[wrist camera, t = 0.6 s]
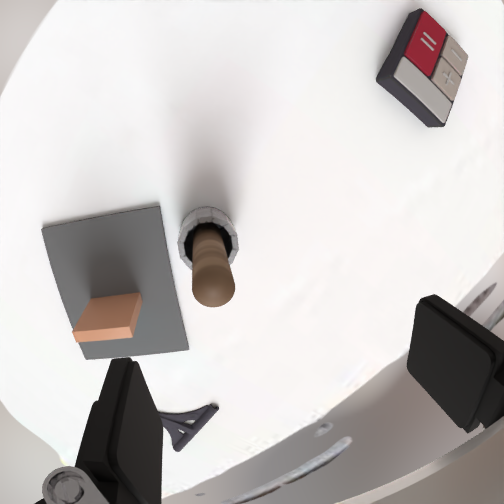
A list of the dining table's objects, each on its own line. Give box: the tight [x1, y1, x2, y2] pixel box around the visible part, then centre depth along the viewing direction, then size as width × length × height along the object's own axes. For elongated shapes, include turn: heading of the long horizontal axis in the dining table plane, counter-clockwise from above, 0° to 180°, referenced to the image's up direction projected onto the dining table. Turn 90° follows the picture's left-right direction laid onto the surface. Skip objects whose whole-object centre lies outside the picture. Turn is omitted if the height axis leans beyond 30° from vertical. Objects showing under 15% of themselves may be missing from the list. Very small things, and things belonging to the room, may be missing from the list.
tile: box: [72, 292, 142, 342], centre depth 34 cm, size 2×7×8 cm, turn 95°
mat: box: [41, 206, 189, 360], centre depth 37 cm, size 20×16×1 cm
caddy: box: [178, 207, 239, 270], centre depth 35 cm, size 6×6×5 cm
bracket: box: [158, 404, 219, 452], centre depth 46 cm, size 14×15×3 cm
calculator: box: [376, 9, 468, 127], centre depth 33 cm, size 11×4×15 cm
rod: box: [192, 222, 235, 307], centre depth 30 cm, size 3×3×14 cm
